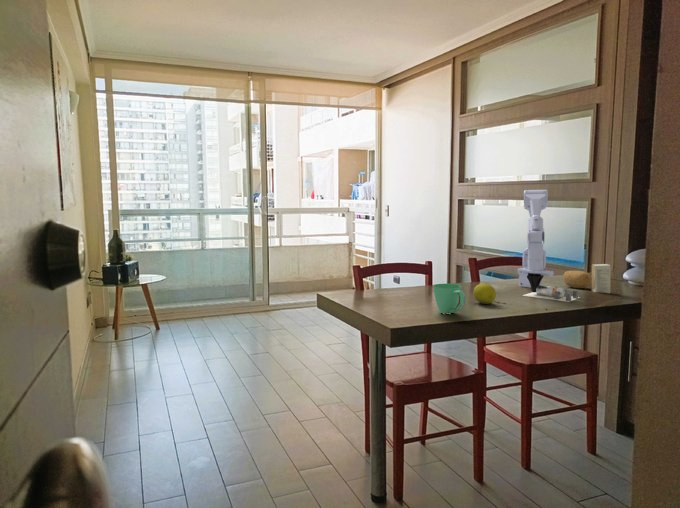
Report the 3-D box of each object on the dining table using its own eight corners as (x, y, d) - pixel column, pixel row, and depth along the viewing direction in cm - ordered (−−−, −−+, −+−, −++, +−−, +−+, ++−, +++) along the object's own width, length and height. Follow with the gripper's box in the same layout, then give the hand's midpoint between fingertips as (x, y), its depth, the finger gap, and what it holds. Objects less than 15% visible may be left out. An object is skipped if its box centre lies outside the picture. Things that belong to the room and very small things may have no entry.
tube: (535, 295, 205) (536, 285, 205) (540, 294, 208) (540, 284, 208) (560, 298, 198) (560, 288, 198) (564, 297, 201) (564, 286, 200)
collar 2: (565, 300, 194) (565, 292, 194) (574, 297, 200) (574, 290, 200) (569, 301, 193) (569, 293, 193) (578, 297, 199) (578, 290, 199)
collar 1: (554, 299, 198) (554, 291, 197) (563, 296, 203) (563, 288, 203) (557, 299, 197) (557, 291, 196) (566, 296, 202) (566, 289, 202)
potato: (574, 285, 232) (574, 268, 231) (597, 290, 218) (597, 272, 217) (556, 286, 229) (556, 269, 228) (578, 291, 216) (578, 273, 215)
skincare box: (606, 292, 213) (607, 263, 212) (610, 294, 209) (611, 265, 208) (590, 292, 214) (591, 263, 213) (594, 294, 210) (595, 265, 208)
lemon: (499, 306, 191) (500, 285, 190) (480, 306, 190) (480, 286, 189) (488, 300, 202) (488, 280, 201) (469, 301, 201) (469, 281, 200)
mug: (427, 311, 184) (427, 284, 183) (450, 309, 188) (450, 282, 187) (451, 320, 170) (451, 291, 169) (475, 317, 174) (475, 288, 173)
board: (521, 297, 206) (521, 295, 206) (534, 293, 214) (534, 291, 214) (568, 303, 192) (568, 301, 192) (580, 299, 200) (580, 297, 200)
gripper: (514, 259, 209) (513, 291, 210) (548, 261, 198) (547, 295, 200) (522, 257, 214) (521, 288, 215) (556, 260, 203) (555, 293, 204)
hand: (534, 291), depth 208 cm, fingers closed
